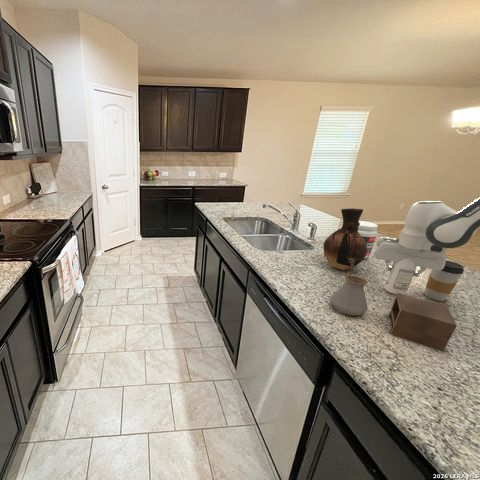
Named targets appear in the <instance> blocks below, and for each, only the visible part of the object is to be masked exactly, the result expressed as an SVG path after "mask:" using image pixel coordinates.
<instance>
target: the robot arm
mask: <svg viewBox="0 0 480 480" xmlns="http://www.w3.org/2000/svg"><path fill="white" fill-rule="evenodd" d="M479 228H480V197H478V198H477V199H475V200H474V201H473V202H470V204H468V205H467V206H465V207H463V208H462V209H461V210H459V211H458V210H455V209H453V208H452V207H450V206H448V205H447V204H445V203H444V202H443V201H441V200H420V201H417V202H415V203H414V204H412V205H411V207H410V209H409V210H408V212H407V215H406V217H405V220H404V227H403V229H401V231H400V233H399V237H398V238H393V237H392V238H391V237H387V236H386V237H380V238H379V239H377V243H376V246H377V247H376V248H375V251H374V254H373V256H374V258H375V259H376V260H377V259H378V260H383V261H384V262H385V265H386V268H385V271H387V272H390V271H391V269H392V265H390V264H391V262H392V263H394V262H399V261H401V260H403V259H410V260H412V261H413V263H414V264H415V266H417V267H419V269H418V270H416V271H415V273H414V276H413V277H416V278H420V275H421V274H422V273H424V272H425V271H427V269H429V270H432V269H433V270H442V269H443V268H444V266H445V263H446V260H447V254H445V253H447V250H448V249H456V248H460V247H462V246H464V245H466V244H467V243H468V242H469V241H470V239H471V238H472V237H473V236H474V235H476V233H477V232H478V231H479Z"/></svg>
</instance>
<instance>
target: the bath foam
mask: <svg viewBox="0 0 480 480" xmlns="http://www.w3.org/2000/svg"><path fill="white" fill-rule="evenodd" d="M391 266H392V269H391V271H389V273H388V275H387V278H386V281H385V284H384V286H383V288H384V290H385V291H386V292H388V293H390V294H393V295H395V296H396V295H397V293H400V294H403V295H406V294H407V292H408V290H409V287H410V285H411V283H412V280H413V278H414V277H415V276H414V273H415V271H417V267H418V266H415V264H414V263H413V261H412V260H410V259H403V260H401V261H399V262H392V265H391Z"/></svg>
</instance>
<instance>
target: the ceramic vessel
mask: <svg viewBox="0 0 480 480" xmlns="http://www.w3.org/2000/svg"><path fill="white" fill-rule="evenodd" d="M340 211H341V217H342V226H341V228H338V229H337V230H335V231H333V232H332V233H330V234H329V235H328V236H327V238H326V239H325V241H324V242H323V255H324V257H325V259H326V260H327V262H328V263H329V265H330V266H332V267H333V268H335V269H337V270H342V271H347V270H351V269H350V266H351V263H350V262H351V260H349V259H354V261H353V262H354V268H355V267H357V266H358V265H360V264H361V262H363V261H364V260H365V259H366V258H365V256H366V253H367V245H366V243H365V240H364V239H363V237H362V236H361V235H360V233H359V232H358V226H359V225H360V223H359V221H360V219H361V217H362V215H363V212H364V209H363V208H354V207H353V208H341V209H340ZM364 258H365V259H364ZM348 260H349V261H350V262H349V261H348Z"/></svg>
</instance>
